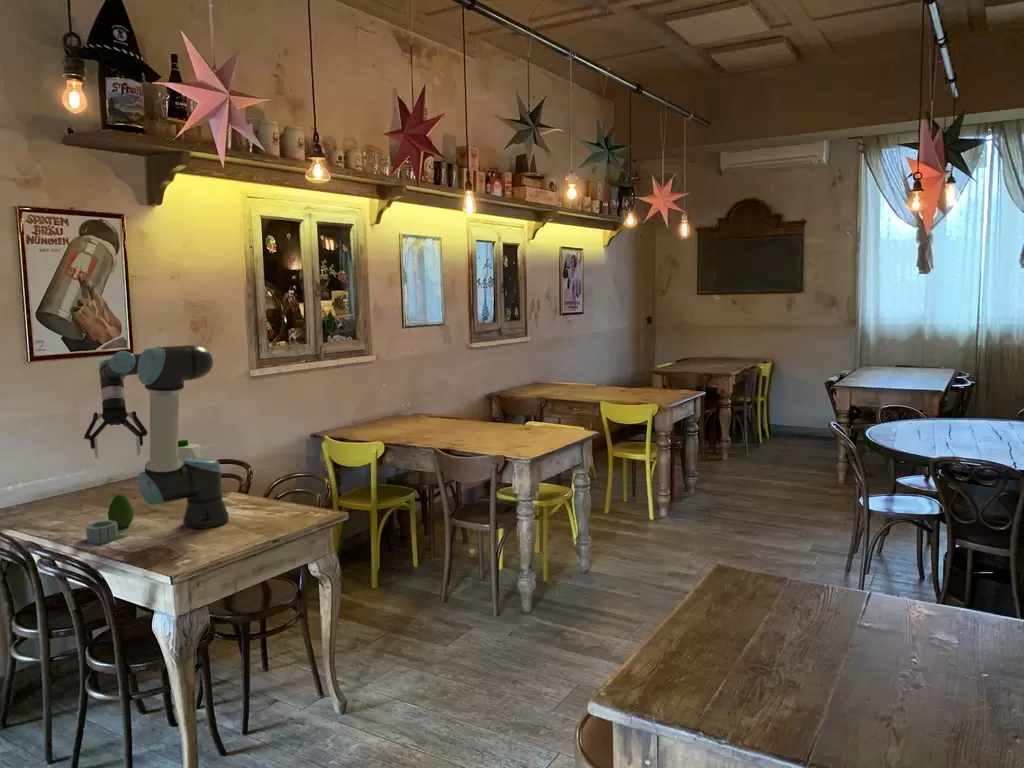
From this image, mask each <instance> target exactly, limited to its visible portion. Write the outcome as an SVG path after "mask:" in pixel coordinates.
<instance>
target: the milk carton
mask: <svg viewBox="0 0 1024 768" xmlns="http://www.w3.org/2000/svg"><path fill="white" fill-rule="evenodd" d="M201 449H202V444H198V443H189V440H187V439H181V440H178V460H180V461H181V462H182V464H183V465H184V460H185V459H189V458H202V457H201Z"/></svg>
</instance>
